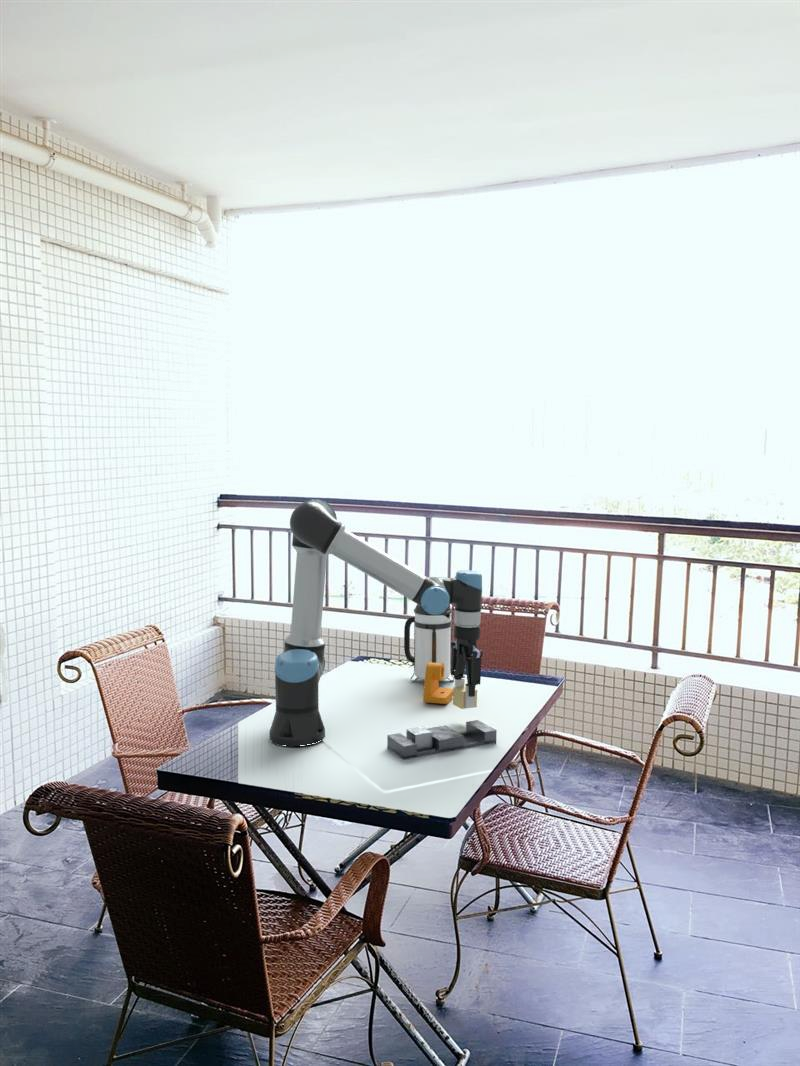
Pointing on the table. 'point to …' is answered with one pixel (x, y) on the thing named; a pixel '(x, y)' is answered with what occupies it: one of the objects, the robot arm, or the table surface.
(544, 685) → the table surface
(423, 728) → the brushed aluminum cube
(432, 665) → the bracket
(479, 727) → the grey stepped block holder
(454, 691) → the sand colored cube
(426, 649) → the coffee press
